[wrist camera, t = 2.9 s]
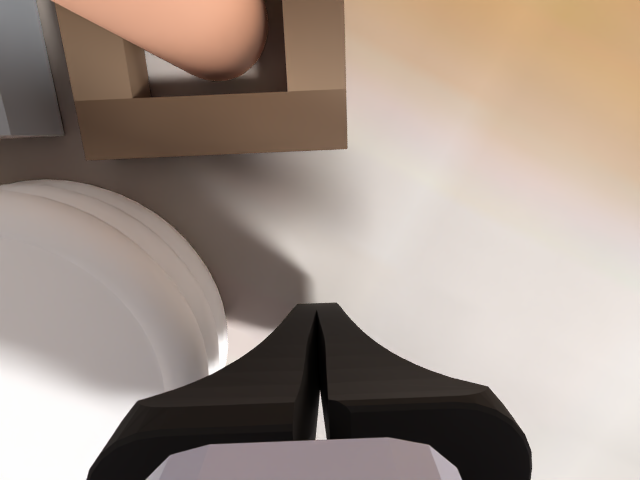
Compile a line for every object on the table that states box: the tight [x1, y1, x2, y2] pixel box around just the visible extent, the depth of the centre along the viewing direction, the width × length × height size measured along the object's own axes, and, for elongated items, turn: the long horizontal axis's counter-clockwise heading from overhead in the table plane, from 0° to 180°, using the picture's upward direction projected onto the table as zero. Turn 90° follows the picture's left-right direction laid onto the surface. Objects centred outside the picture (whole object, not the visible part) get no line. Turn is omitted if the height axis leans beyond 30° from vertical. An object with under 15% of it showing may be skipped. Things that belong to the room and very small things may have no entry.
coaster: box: [0, 179, 228, 480], centre depth 11 cm, size 10×10×4 cm
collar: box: [54, 0, 347, 160], centre depth 10 cm, size 7×7×1 cm
